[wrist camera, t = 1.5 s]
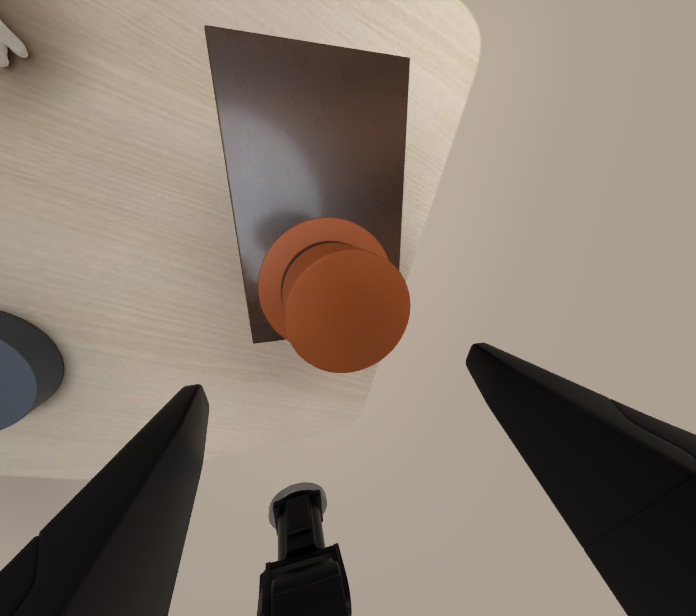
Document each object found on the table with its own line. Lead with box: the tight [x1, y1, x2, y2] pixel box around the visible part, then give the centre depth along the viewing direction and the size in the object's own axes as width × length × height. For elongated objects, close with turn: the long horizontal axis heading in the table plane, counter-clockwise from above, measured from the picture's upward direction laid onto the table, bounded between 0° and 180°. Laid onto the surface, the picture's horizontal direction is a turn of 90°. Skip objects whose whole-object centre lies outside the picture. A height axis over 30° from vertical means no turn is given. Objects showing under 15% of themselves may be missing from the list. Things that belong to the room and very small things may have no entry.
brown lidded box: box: [204, 25, 410, 343], centre depth 17 cm, size 14×9×9 cm, turn 1°
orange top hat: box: [258, 217, 410, 373], centre depth 12 cm, size 8×8×5 cm
